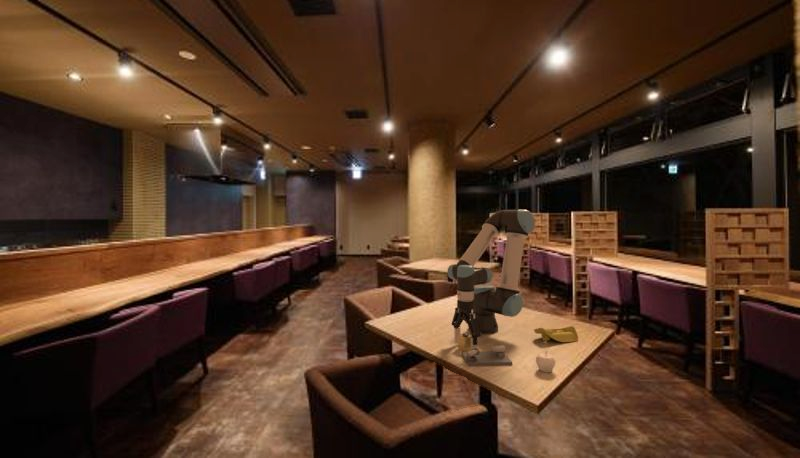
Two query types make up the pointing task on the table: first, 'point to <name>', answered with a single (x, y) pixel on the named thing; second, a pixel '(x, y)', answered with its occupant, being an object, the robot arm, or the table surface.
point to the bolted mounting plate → (490, 357)
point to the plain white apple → (545, 362)
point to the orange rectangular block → (464, 342)
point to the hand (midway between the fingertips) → (465, 346)
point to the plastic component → (558, 334)
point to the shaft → (472, 355)
